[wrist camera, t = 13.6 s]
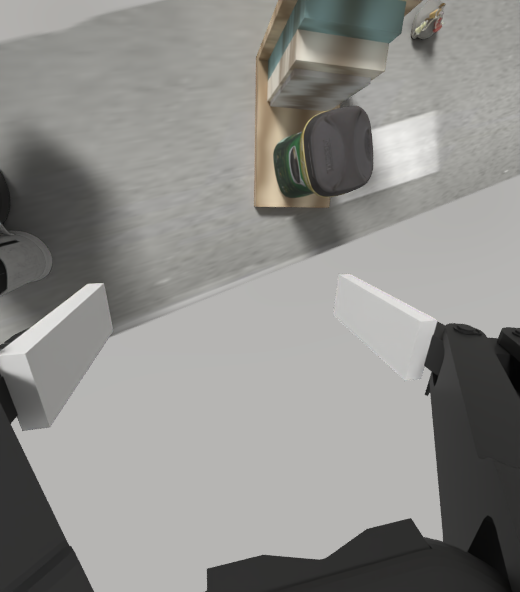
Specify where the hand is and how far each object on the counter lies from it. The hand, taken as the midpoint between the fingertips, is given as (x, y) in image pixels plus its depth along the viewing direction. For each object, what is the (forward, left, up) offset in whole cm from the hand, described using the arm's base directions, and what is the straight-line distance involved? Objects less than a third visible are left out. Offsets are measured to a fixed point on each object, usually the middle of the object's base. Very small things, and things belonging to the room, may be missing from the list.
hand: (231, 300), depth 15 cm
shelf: (+15, +15, -37) cm, 42 cm away
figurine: (+36, +33, -37) cm, 61 cm away
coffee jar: (+15, +10, -35) cm, 39 cm away
